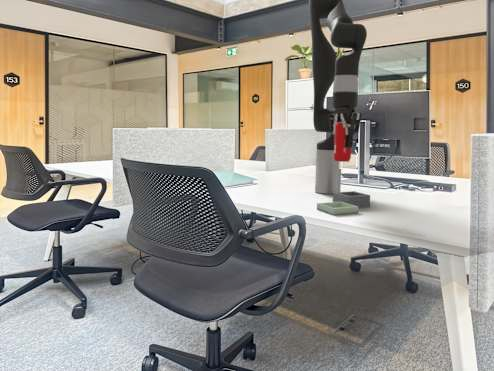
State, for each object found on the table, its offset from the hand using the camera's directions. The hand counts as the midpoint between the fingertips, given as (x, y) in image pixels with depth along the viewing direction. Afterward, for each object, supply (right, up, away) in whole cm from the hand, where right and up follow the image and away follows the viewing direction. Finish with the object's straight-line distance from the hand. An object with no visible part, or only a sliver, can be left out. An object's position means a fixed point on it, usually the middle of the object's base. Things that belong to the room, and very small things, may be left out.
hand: (342, 146), depth 128 cm
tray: (-1, -20, +2) cm, 20 cm away
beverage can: (0, -5, +1) cm, 5 cm away
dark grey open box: (+5, -19, +11) cm, 23 cm away
